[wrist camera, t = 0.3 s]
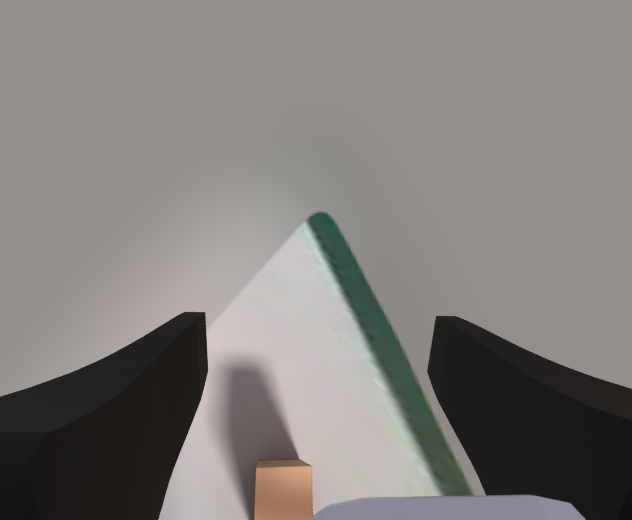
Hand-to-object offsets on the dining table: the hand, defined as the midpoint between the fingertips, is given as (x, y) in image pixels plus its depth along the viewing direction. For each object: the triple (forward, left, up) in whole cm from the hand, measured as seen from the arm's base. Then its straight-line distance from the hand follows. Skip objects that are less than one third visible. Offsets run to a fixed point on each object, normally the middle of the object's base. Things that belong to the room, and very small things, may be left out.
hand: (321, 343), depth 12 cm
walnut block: (-8, 0, -29) cm, 30 cm away
